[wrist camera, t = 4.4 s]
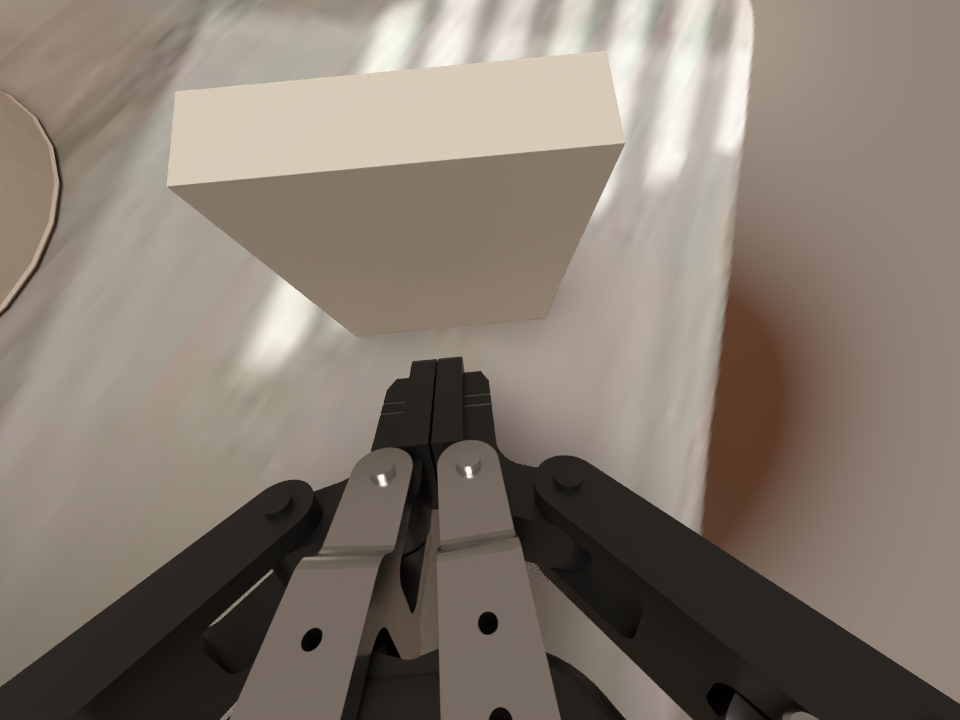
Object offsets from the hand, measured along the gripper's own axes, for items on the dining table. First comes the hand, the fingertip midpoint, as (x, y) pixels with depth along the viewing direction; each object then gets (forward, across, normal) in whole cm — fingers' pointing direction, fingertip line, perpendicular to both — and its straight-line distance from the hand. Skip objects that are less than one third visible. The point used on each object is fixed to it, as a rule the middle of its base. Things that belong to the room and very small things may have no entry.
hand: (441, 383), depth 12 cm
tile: (+9, 0, +2) cm, 9 cm away
